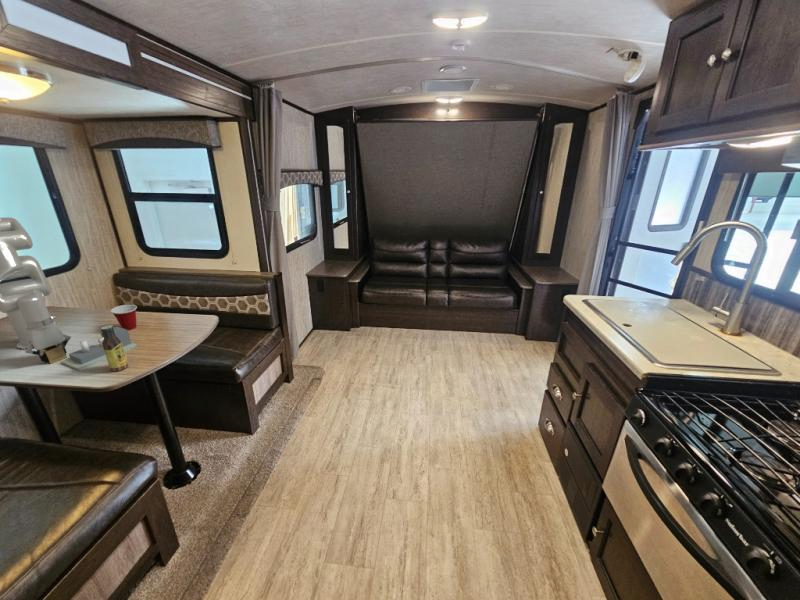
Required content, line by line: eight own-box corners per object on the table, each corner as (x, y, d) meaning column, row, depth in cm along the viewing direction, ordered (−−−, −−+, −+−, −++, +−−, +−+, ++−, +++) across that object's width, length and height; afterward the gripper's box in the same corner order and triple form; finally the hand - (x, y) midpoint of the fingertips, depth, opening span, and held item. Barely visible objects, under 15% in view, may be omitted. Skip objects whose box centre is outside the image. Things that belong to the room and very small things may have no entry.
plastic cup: (125, 334, 171) (119, 313, 166) (112, 330, 174) (105, 310, 170) (147, 325, 180) (141, 306, 176) (134, 322, 184) (128, 302, 179)
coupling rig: (61, 363, 145) (54, 345, 142) (119, 340, 165) (114, 324, 161) (79, 370, 140) (72, 352, 137) (137, 346, 160) (132, 330, 156)
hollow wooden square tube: (43, 360, 146) (38, 349, 144) (60, 354, 151) (55, 343, 149) (50, 363, 144) (45, 352, 142) (66, 357, 149) (62, 346, 147)
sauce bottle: (125, 371, 141) (111, 330, 133) (108, 373, 139) (92, 331, 132) (132, 362, 146) (118, 323, 139) (115, 364, 145) (101, 324, 137)
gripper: (60, 313, 149) (74, 347, 156) (7, 329, 134) (24, 366, 141) (69, 316, 147) (83, 351, 153) (16, 332, 132) (33, 370, 139)
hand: (55, 358), depth 147 cm, fingers closed on hollow wooden square tube, 5 cm apart
